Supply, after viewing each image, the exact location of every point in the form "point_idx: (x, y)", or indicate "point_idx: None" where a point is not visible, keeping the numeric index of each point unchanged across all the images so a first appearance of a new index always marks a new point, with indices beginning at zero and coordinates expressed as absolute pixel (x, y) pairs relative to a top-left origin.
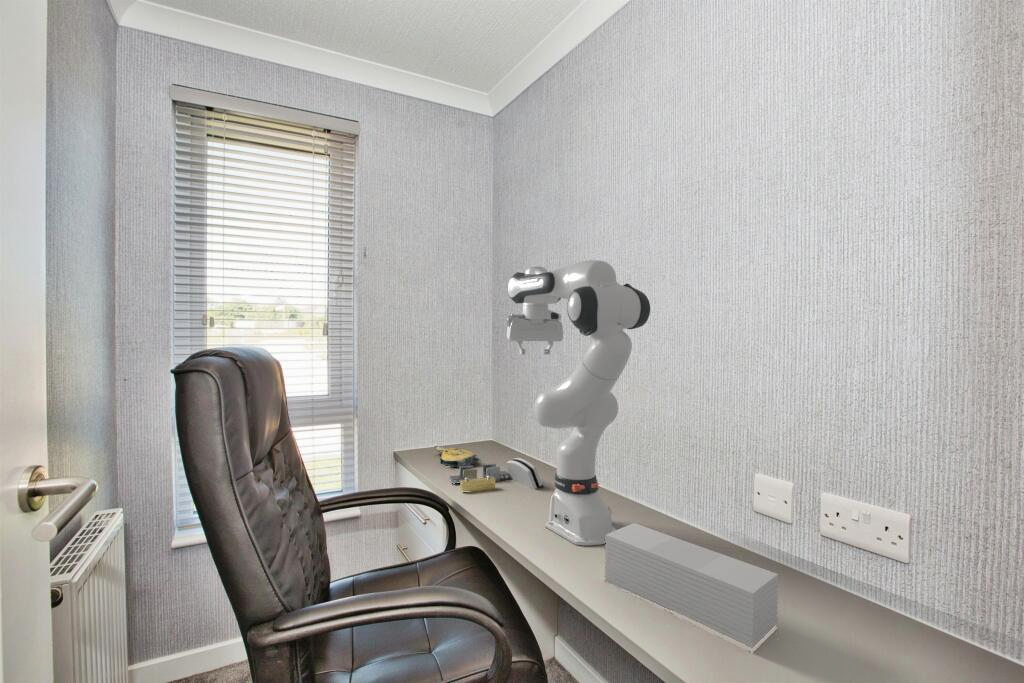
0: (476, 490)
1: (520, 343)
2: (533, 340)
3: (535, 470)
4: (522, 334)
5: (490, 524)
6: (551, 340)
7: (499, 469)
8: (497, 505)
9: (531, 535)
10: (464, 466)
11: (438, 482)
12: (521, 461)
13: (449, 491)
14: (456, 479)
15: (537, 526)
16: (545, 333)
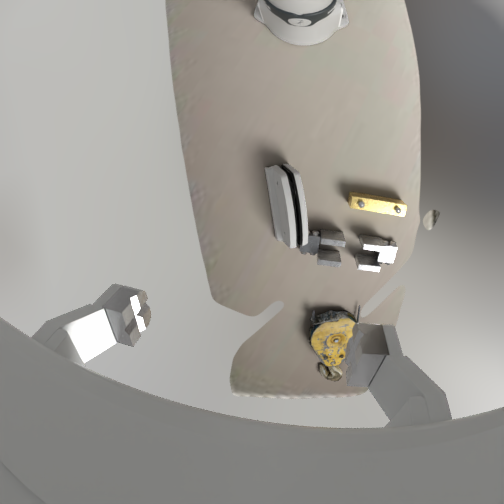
0: (380, 196)
1: (429, 403)
2: (259, 424)
3: (281, 173)
4: (449, 496)
5: (413, 67)
6: (30, 341)
7: (322, 237)
8: (379, 122)
9: (375, 14)
10: (372, 269)
11: (405, 262)
12: (294, 210)
13: (412, 216)
14: (391, 245)
15: (357, 30)
16: (33, 437)
